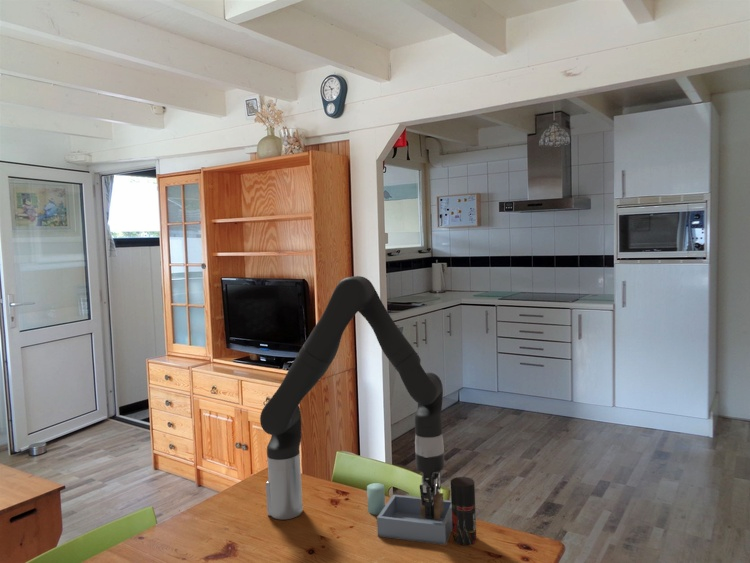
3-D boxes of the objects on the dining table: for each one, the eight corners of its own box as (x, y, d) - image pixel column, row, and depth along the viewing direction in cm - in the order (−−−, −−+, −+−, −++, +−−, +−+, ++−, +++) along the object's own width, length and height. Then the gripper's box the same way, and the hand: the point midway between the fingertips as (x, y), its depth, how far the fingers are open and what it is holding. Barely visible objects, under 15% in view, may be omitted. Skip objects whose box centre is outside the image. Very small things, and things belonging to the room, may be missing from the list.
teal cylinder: (365, 513, 157) (364, 489, 156) (371, 505, 161) (370, 482, 161) (382, 515, 155) (381, 491, 155) (387, 507, 160) (386, 484, 159)
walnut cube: (420, 518, 144) (420, 499, 144) (425, 509, 149) (424, 491, 149) (439, 520, 143) (438, 501, 142) (443, 511, 147) (443, 493, 147)
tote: (377, 536, 144) (376, 517, 144) (393, 511, 157) (393, 494, 157) (445, 545, 138) (445, 525, 137) (456, 519, 151) (455, 501, 151)
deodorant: (476, 546, 137) (474, 487, 136) (452, 544, 138) (449, 486, 137) (476, 534, 142) (474, 477, 142) (453, 532, 144) (451, 476, 143)
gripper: (422, 440, 153) (425, 500, 154) (408, 459, 139) (411, 524, 140) (449, 442, 150) (451, 503, 151) (437, 461, 137) (440, 528, 138)
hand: (432, 513), depth 146 cm, fingers closed on walnut cube, 5 cm apart
